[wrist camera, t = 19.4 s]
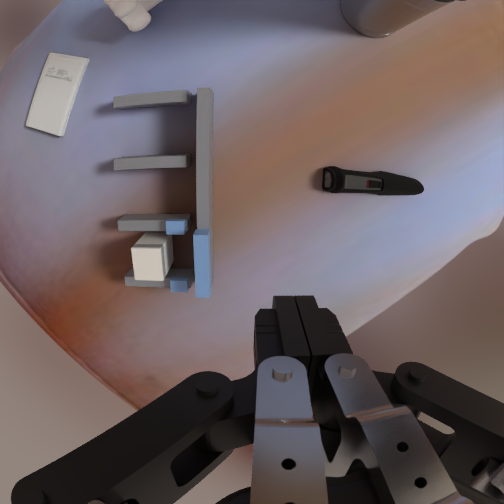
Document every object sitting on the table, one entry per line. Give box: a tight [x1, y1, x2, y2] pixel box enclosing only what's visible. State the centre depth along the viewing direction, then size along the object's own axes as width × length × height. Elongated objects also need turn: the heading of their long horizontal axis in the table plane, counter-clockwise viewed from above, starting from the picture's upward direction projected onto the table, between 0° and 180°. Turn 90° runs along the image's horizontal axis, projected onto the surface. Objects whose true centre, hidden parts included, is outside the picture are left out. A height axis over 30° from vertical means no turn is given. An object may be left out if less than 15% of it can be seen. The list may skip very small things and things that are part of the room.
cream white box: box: [131, 232, 174, 281], centre depth 42 cm, size 4×4×7 cm
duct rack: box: [113, 88, 214, 298], centre depth 39 cm, size 27×13×7 cm, turn 179°
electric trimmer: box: [322, 166, 424, 195], centre depth 42 cm, size 4×16×3 cm, turn 89°
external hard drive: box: [26, 52, 90, 136], centre depth 36 cm, size 2×8×12 cm
